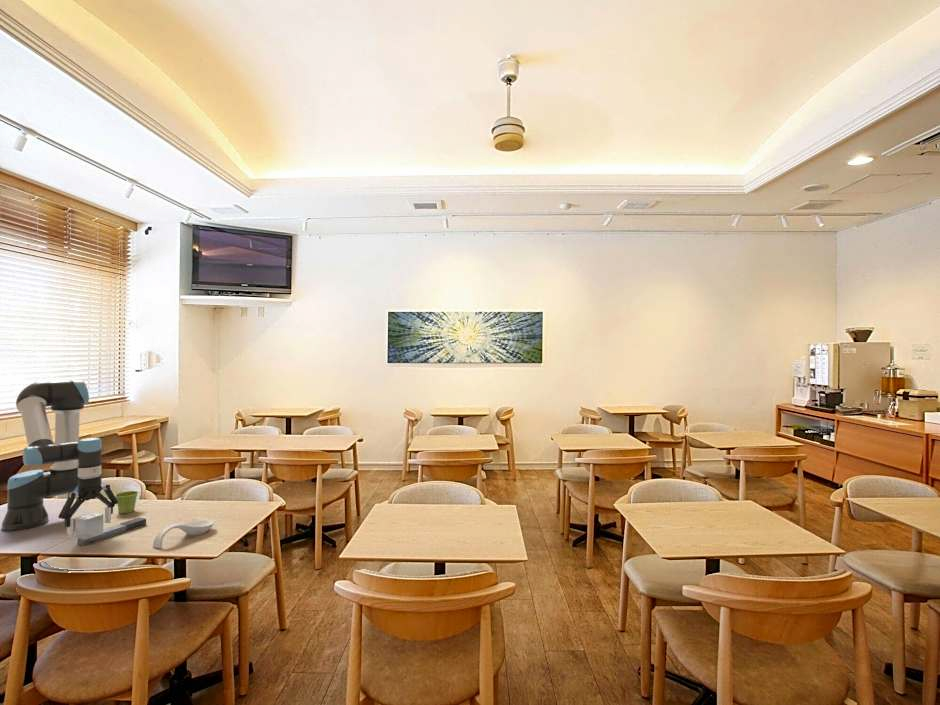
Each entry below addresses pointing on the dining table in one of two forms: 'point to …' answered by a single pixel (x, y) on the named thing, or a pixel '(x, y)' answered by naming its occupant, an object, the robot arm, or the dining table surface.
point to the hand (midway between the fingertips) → (89, 528)
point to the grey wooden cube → (88, 525)
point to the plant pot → (126, 501)
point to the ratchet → (115, 530)
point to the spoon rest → (188, 528)
